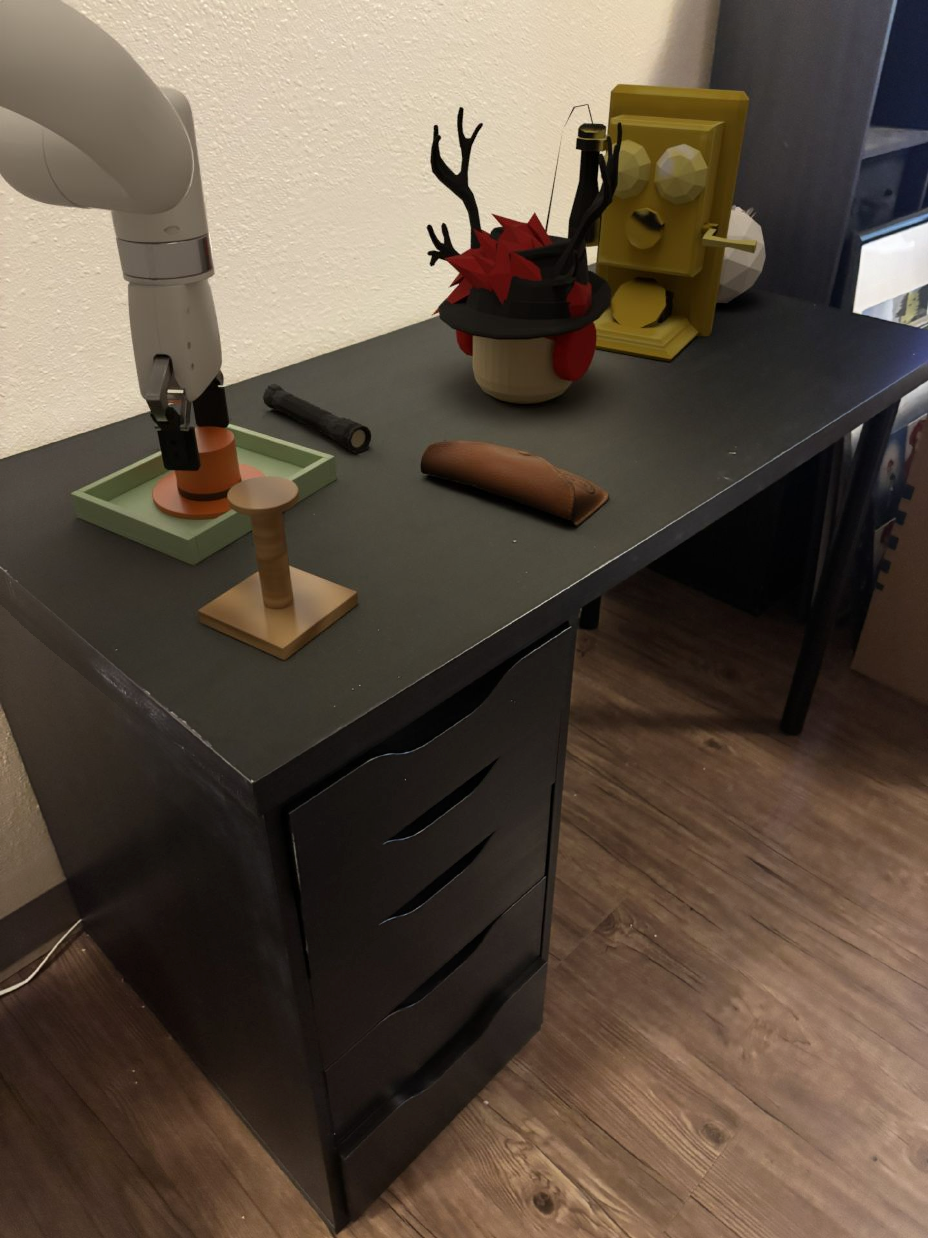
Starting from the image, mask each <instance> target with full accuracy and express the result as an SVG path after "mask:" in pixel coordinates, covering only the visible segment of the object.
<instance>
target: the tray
mask: <svg viewBox="0 0 928 1238" xmlns="http://www.w3.org/2000/svg"><path fill="white" fill-rule="evenodd" d="M225 429H227V430H229V431H231V432H232V433H233V435H234V438H235V445H236V451H237V457H238V463H241V464H245V465H249V466H252V467H254V468H256V469H258V470H260V471H261V472H262V473H263V474H264V475H265V476H275V477H282V478H286V479H289V480H291V481H293V482H294V483H295V484H296V485H297V487H298V489H299V499H298V501H297V503H296V504H298V503H299V502H301V501H303V500H304V499H307V498H308V497H309V496H311V495H312V494H315V493H316V492H318V491H319V490H321V489H323V488H324V487H326V486H328V485H330V484H331V483H333V482H334V481H336V480H337V469H336V467H337V466H336V457H335V455H332V454H329V453H325V452H322V451H319V450H315V449H312V448H309V447H306V446H302V445H299V444H297V443H293V442H290V441H286V440H284V439H280V438H277V437H273V436H270V435H267V434H264V433H260V432H257V431H254V430H251V429H248V428H244V427H242V426H238V425H235V424H232V423H229V425H228V427H226V428H225ZM174 471H175V470H167V469H165V468H164V464H163V459H162V454H161V450H159V451H157V452H155V453H153V454H151V455H149V456H147V457H145V458H143V459H140V460H139V461H138V460H137V461H136V462H133V463H132V464H129V465H128V466H125V467H123V468H122V469H119V470H117V471H115V472H113V473H111V474H109V475H108V474H107V476H104V477H102V478H100V479H98V480H95V481H94V482H91V483H90V484H88V485H85V486H83V487H81V488H79V489H77V490H75V491H73V492H71V493H70V496H71V500H72V503H73V507H74V511H75V514H76V517H77V518H78V519H80V520H83V521H84V522H88V523H90V524H92V525H94V526H96V527H99V528H102V529H104V530H107V531H110V532H112V533H114V534H116V535H118V536H121V537H124V538H126V539H129V540H131V541H133V542H136V543H138V544H141V545H143V546H146V547H147V548H150V549H153V550H155V551H158V552H160V553H163V554H164V555H167V556H169V557H172V558H174V559H177V560H179V561H182V562H183V563H187V564H189V565H191V566H195V565H197V564H198V563H200V562H201V561H204V560H205V559H207V558H208V557H211V556H212V555H214V554H215V553H217V552H218V551H220V550H221V549H224V548H225V547H227V546H228V545H230V544H232V543H233V542H235V541H237V540H238V539H240V538H241V537H243V536H245V535H246V534H249V533H250V532H252V526H251V519H250V515H244V514H240V513H238V512H236V511H234V510H233V509H232V510H230V511H228V512H226V513H225V514H223V515H221V516H219V517H218V518H214V519H202V520H194V519H183V518H178V517H174V516H171V515H168V514H166V513H163V512H162V511H160V510H159V509H158V508H157V507H156V506H155V504H154V501H153V497H152V492H153V488H154V487H155V485H156V484H157V483H158V482H159V481H160V480H161V479H162V478H164V477H165V476H167V475H168V474H170V473H172V472H174Z"/></svg>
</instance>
